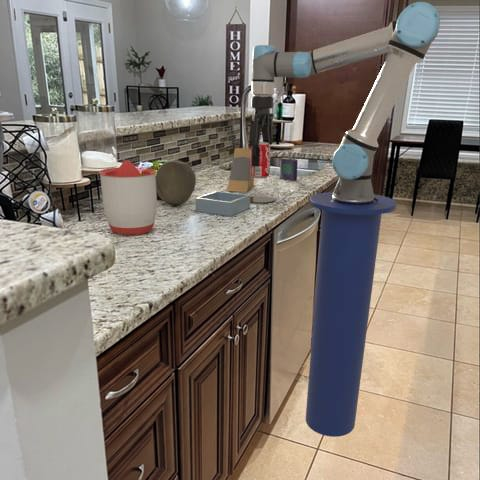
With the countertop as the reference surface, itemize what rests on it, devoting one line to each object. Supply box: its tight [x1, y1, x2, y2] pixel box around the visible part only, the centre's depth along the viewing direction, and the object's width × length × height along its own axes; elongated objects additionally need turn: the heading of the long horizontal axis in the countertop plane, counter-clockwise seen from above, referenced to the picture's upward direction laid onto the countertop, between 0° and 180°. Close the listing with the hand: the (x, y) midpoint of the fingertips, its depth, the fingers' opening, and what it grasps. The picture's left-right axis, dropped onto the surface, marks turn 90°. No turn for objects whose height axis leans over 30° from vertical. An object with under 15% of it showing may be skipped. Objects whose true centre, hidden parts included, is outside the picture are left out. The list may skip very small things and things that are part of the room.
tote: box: [194, 190, 251, 217], centre depth 170 cm, size 14×14×4 cm
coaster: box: [250, 195, 275, 204], centre depth 186 cm, size 11×11×1 cm
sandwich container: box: [226, 147, 255, 193], centre depth 203 cm, size 9×15×15 cm, turn 168°
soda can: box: [250, 141, 271, 179], centre depth 180 cm, size 7×7×12 cm
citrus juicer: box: [98, 159, 158, 236], centre depth 143 cm, size 16×17×20 cm
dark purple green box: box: [279, 154, 299, 182], centre depth 225 cm, size 9×3×11 cm, turn 46°
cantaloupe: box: [155, 160, 197, 207], centre depth 174 cm, size 14×14×15 cm
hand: (260, 164), depth 181 cm, fingers closed on soda can, 7 cm apart
